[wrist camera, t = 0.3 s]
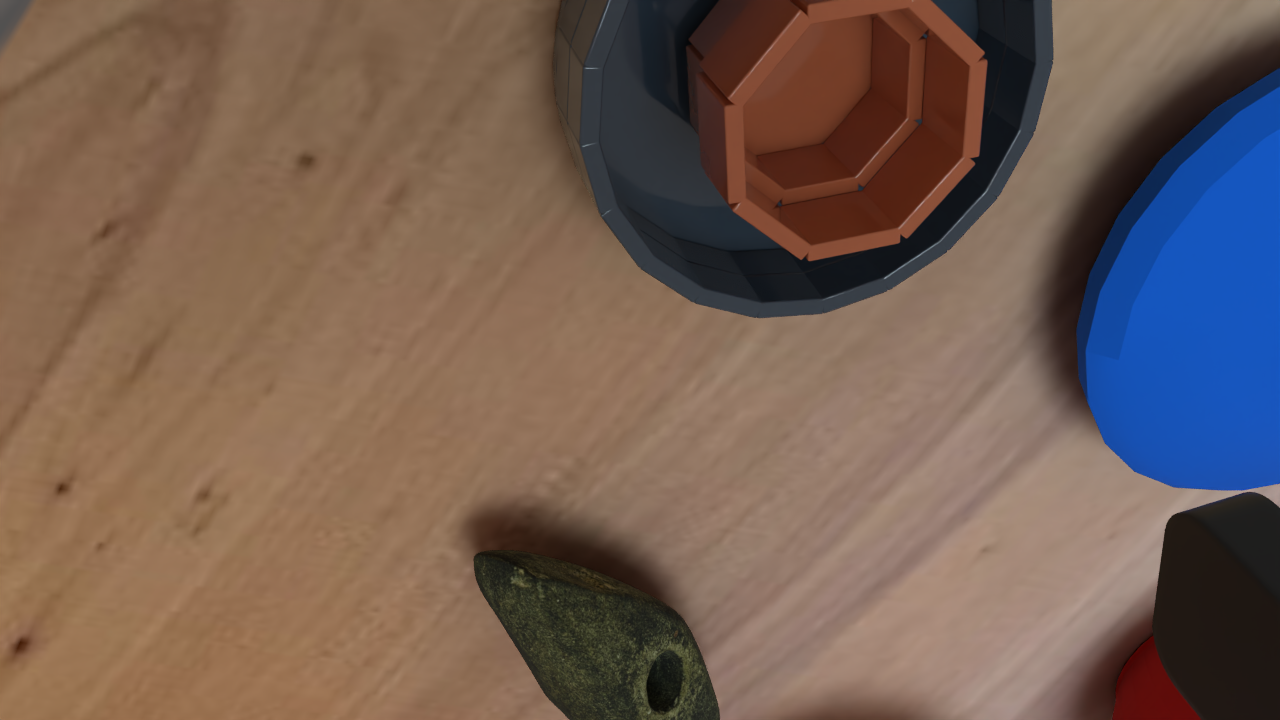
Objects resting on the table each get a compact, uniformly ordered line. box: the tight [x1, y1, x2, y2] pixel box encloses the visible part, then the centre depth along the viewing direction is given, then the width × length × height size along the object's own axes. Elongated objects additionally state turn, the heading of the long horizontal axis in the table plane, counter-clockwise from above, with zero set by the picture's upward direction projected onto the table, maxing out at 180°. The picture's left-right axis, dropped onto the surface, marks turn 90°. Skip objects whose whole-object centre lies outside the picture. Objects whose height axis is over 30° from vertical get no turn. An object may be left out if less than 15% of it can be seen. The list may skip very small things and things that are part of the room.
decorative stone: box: [474, 550, 720, 720], centre depth 39 cm, size 11×8×5 cm
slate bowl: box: [553, 0, 1053, 318], centre depth 30 cm, size 12×12×4 cm
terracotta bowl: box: [686, 0, 987, 261], centre depth 29 cm, size 6×6×5 cm
